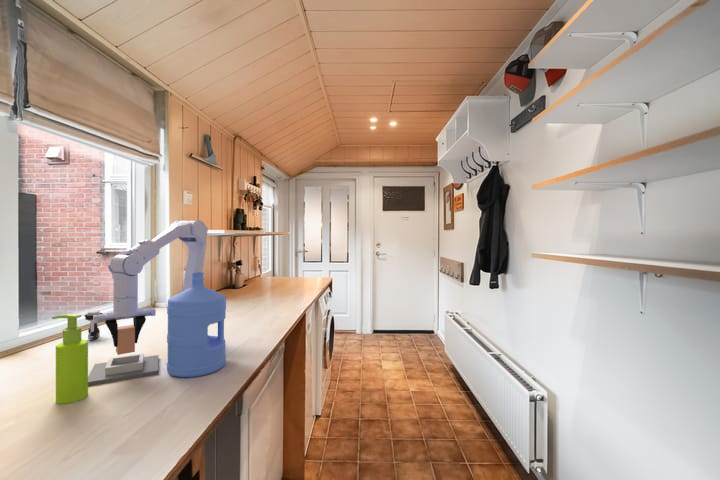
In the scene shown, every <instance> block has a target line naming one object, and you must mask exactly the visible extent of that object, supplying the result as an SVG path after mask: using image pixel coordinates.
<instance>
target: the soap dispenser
mask: <svg viewBox="0 0 720 480" xmlns="http://www.w3.org/2000/svg"><path fill="white" fill-rule="evenodd" d="M81 317H82V314H81V313H62V314H59V315H56V316H52V317H51V319H52V320H56V319H67V327H66V328H64V329H62V342H60V343H57V344H55V403H56V404H58V405H67V404H72V403H75V402H79V401H82V400H83V399H85V398H87V397H88V395H89V386H88V376H89V340H87V339H82V327H81V326H78V325H77V324H78V321H77V320H78V318H81Z"/></svg>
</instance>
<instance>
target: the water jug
mask: <svg viewBox="0 0 720 480" xmlns="http://www.w3.org/2000/svg"><path fill="white" fill-rule="evenodd" d="M204 280H205V278H204V272H196V273H192V286H191V287H190V288H189V289H187V290H185V291H183V292H182V291H181V292H178V293H177V294H175V295H173V296H171V297H169V298H168V300H167V307H166V310H167V313H166V314H167V335H166V343H167V362H166V370H167V373H169V375H171V376H173V377H177V378H196V377H201V376H206V375H210V374H212V373H215V372H217V371H219V370H220V369H222V368H223V367H224V366H225V364H226V362H227V360H226V358H227V355H226V339H225V319H226V314H227V313H226V310H227V300H226V295H225V294H223V293H221V292H218V291H215V290H213V289H211V288H208V287H206V286H205V285H204ZM213 324H217V336H216V335H209V333H208V332H209V329H208V328H209V326H210V325H213Z"/></svg>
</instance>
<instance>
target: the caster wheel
mask: <svg viewBox="0 0 720 480" xmlns="http://www.w3.org/2000/svg"><path fill="white" fill-rule="evenodd" d="M99 314H104V313H103V312H100V310H90V311H87V313H86V314H84V315H83V317H85V320H86V321H88V322H89V323H90V325H89V328H88V331H87V333H88V334H87V335H88V336H87V338H88V341H95V340H96V339H97V338H98V339H99V337H100V332H101V331H100V328H99V327H98V323H93V315H99Z"/></svg>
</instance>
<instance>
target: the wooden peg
mask: <svg viewBox="0 0 720 480" xmlns="http://www.w3.org/2000/svg"><path fill="white" fill-rule="evenodd" d="M117 340H118V346H117V347H115V353H116V354H117V356H120V355H124V354H131V353H135V352H136V343H135V327H134V324H129V325H121V326H118V327H117Z"/></svg>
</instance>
